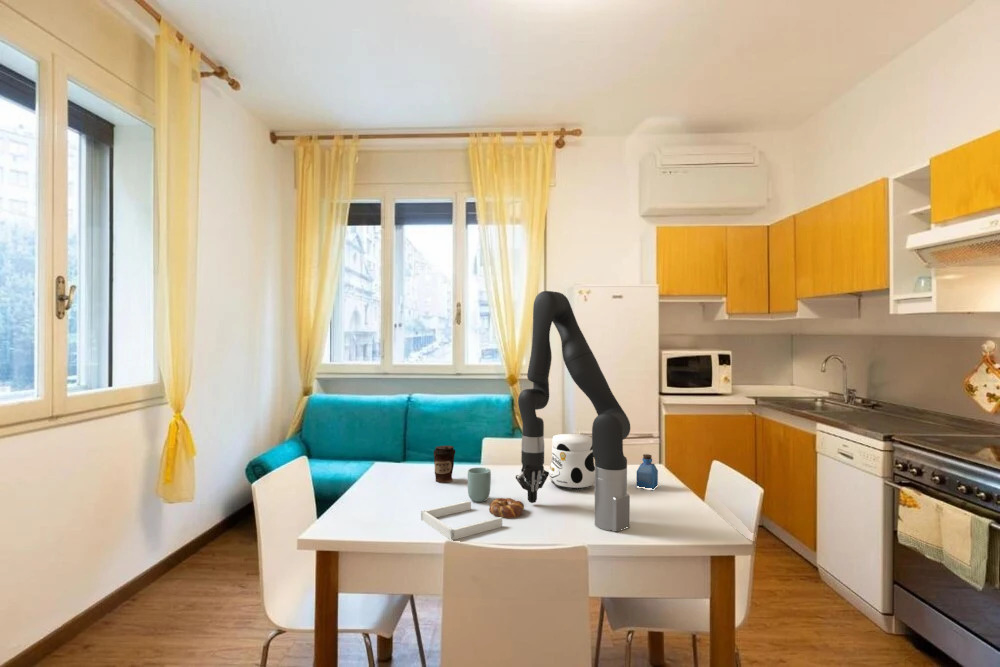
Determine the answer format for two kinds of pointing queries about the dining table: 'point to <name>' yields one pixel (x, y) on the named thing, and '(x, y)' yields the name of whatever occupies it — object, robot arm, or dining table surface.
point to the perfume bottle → (647, 473)
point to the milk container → (572, 461)
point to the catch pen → (460, 532)
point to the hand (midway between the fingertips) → (532, 502)
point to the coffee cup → (444, 463)
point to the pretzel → (506, 508)
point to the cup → (479, 484)
